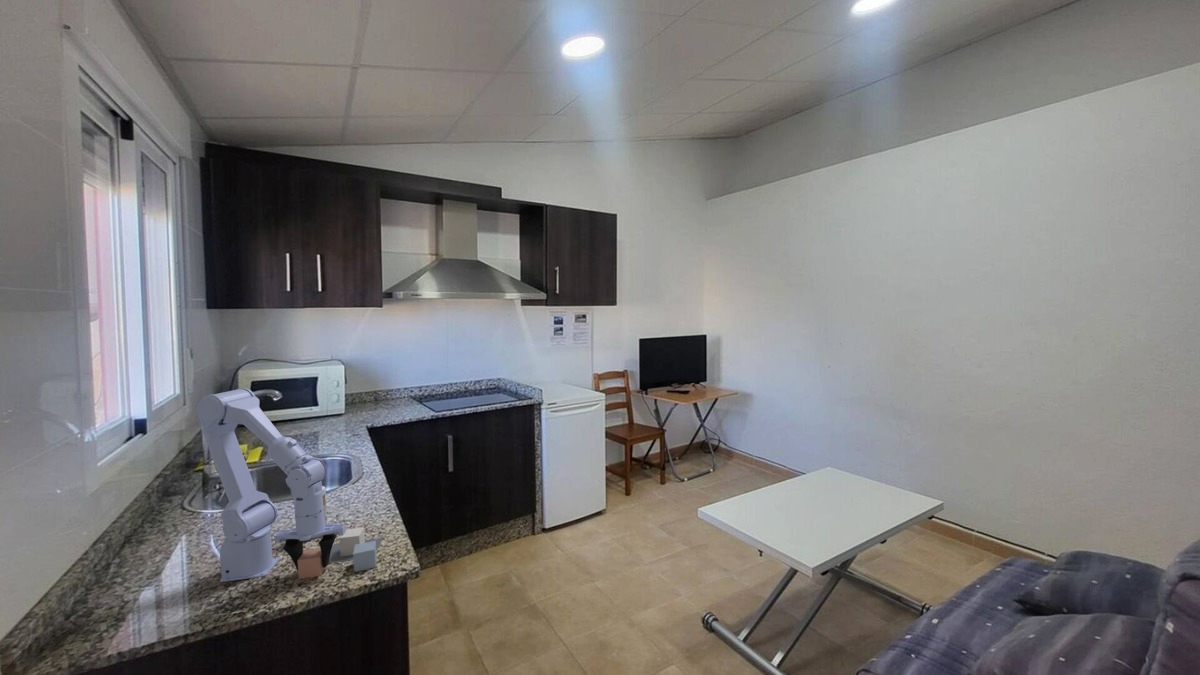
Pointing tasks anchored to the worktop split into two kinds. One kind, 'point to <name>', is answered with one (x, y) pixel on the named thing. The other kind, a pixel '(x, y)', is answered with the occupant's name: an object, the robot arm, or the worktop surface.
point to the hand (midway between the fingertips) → (313, 567)
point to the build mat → (337, 558)
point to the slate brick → (364, 556)
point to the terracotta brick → (310, 563)
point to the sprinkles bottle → (324, 506)
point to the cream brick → (351, 540)
